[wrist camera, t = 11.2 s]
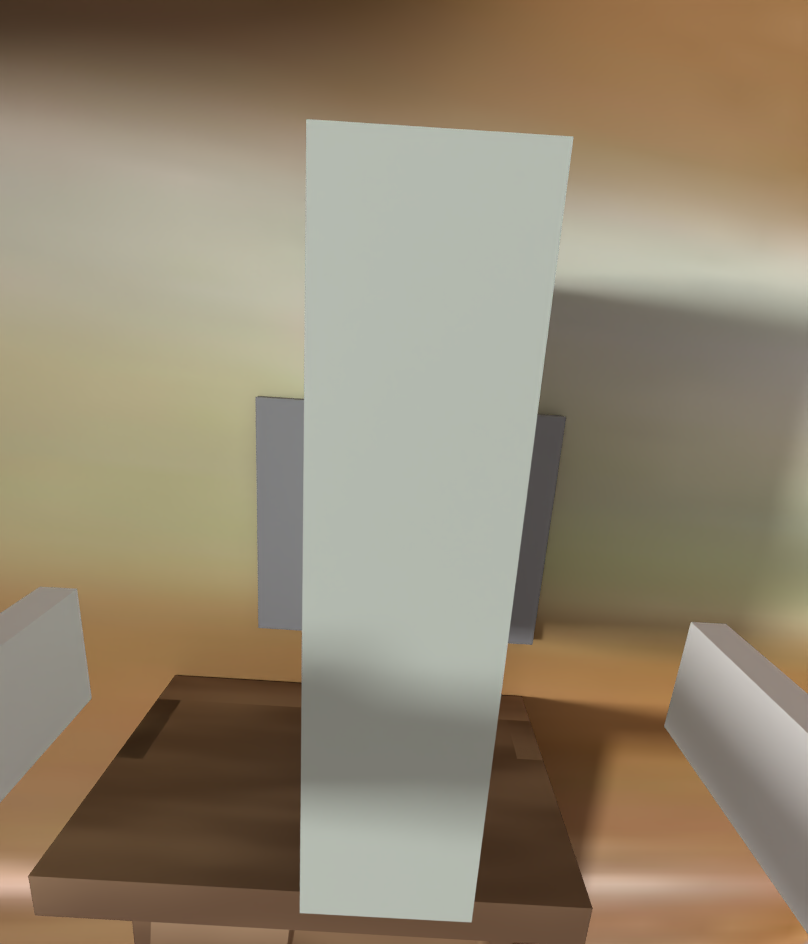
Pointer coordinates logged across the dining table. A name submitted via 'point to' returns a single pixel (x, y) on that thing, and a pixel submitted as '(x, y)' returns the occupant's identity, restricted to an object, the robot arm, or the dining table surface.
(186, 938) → the offcut
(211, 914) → the rack
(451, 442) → the sheet
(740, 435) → the dining table surface
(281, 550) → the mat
